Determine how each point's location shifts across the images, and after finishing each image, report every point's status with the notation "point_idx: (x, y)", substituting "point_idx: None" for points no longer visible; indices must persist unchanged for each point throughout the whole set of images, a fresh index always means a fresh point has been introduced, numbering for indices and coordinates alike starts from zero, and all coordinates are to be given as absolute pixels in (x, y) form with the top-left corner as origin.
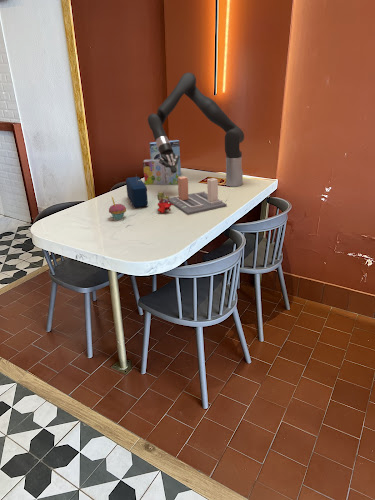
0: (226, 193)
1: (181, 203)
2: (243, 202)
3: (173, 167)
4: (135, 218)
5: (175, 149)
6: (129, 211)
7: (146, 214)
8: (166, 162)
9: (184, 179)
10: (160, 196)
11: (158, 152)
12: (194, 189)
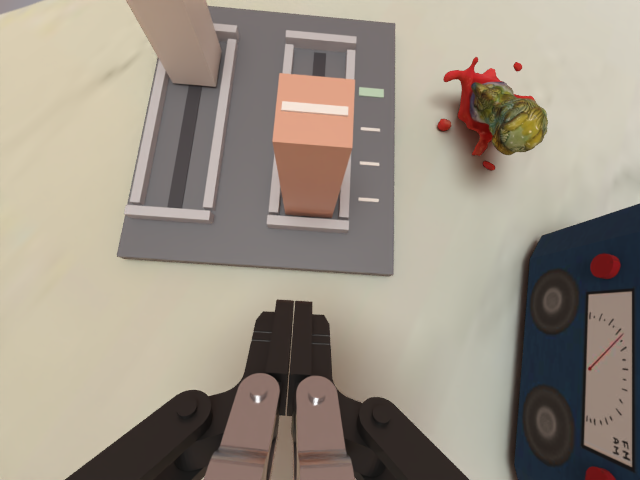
0: (9, 167)
1: (356, 145)
2: (65, 5)
3: (295, 346)
4: (626, 136)
5: None
6: None
7: (564, 150)
8: (407, 475)
9: (316, 83)
10: (533, 102)
11: None
12: (102, 378)
